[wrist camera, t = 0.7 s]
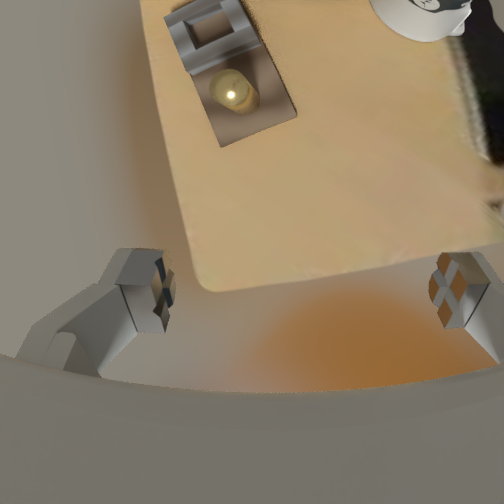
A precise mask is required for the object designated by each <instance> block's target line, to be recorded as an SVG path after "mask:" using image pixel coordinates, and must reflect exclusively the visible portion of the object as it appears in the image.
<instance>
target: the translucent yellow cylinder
mask: <svg viewBox="0 0 504 504" xmlns="http://www.w3.org/2000/svg"><path fill="white" fill-rule="evenodd" d="M209 91H210V94H211V96H212V97H213V99H214V100H216V101H217V102H219V103H221V104H222V105H224V106H226V107H227V108H229V109H231V110H232V111H234V112H236V113H237V114H240V115H249V114H252V113H253V112H255V111H256V110H257V109H258V107H259V105H260V96H259V94H258V93H257V91H256V90H255V89H254V88H253V86H252V85H251V84H250V83H249V82H248V80H247V79H246V78H245V77H244V76H243V75H242V74H241V73H240V72H239V71H237V70H234V69H224V70H221V71H219V72H218V73H216V74H215V75H214V76H213V78H212V79H211V81H210V85H209Z"/></svg>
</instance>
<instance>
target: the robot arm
mask: <svg viewBox="0 0 504 504" xmlns="http://www.w3.org/2000/svg"><path fill="white" fill-rule="evenodd" d="M471 1H472V0H370V2H371V5H372V7H373V9H374V11H375V12H376V14H377V15H378V16H379V18H380V19H381V20H382V21H383V22H384V23H385V24H386V25H387V26H389V27H390V28H391V29H393V30H394V31H396V32H397V33H399V34H401V35H403V36H405V37H407V38H410V39H413V40H417V41H422V42H432V41H437V40H439V39H442V38H443V37H445V36H448V35H452V36H459V35H462V34H463V32H464V20H465V19H466V18H467V17H468V15H469V14H470V13H471V9H470V2H471ZM170 264H171V257H170V252H169V251H168V250H167V249H148V248H135V249H134V248H119V249H117V250H116V252H115V253H114V255H113V257H112V259H111V261H110V262H109V264H108V266H107V267H106V269H105V271H104V273H103V275H102V276H101V278H100V280H99V282H98V284H92V285H90V286H89V287H87V288H86V289H84V290H83V291H81V292H80V293H78V294H77V295H75V296H74V297H72V298H71V299H69V300H68V301H66V302H65V303H64V304H62V305H61V306H59V307H58V308H56V309H55V310H53V311H52V312H51V313H49V314H48V315H46V316H45V317H43V318H42V319H41V320H39V321H38V322H36V323H35V324H34V325H33V326H32V327H31V329H30V331H29V333H28V334H27V337H26V338H25V340H24V342H23V344H22V346H21V348H20V349H19V352H18V353H17V355H16V357H15V358H13V357H9V356H6V355H3V354H0V504H504V283H503V282H502V281H501V279H500V278H499V277H498V275H497V274H496V272H495V271H494V269H493V268H492V267H491V265H490V264H489V263H488V261H487V260H486V259H485V257H484V256H483V255H482V254H481V253H479V252H442V253H441V255H440V256H439V258H438V260H437V267H438V269H437V270H436V271H435V272H434V273H433V274H432V275H431V278H430V281H429V290H428V291H429V296H430V299H431V301H432V303H433V304H434V305H436V306H437V307H438V308H439V309H438V312H437V314H438V316H439V318H440V320H441V322H442V324H443V327H444V329H448V328H460V327H465V329H466V330H467V331H468V332H469V333H470V334H471V335H472V336H473V337H474V338H475V339H476V341H477V342H478V343H479V344H480V345H481V346H482V347H483V348H484V349H485V350H486V351H487V352H488V353H489V354H490V355H491V356H492V357H493V358H494V360H495V361H496V362H497V363H498V364H499V365H498V366H494V367H490V368H486V369H482V370H477V371H473V372H469V373H464V374H459V375H454V376H450V377H444V378H439V379H433V380H427V381H421V382H414V383H408V384H401V385H393V386H385V387H375V388H365V389H354V390H341V391H324V392H301V393H300V392H298V393H249V392H246V393H244V392H222V391H204V390H191V389H179V388H169V387H160V386H151V385H143V384H136V383H129V382H123V381H116V380H110V379H104V378H102V377H101V376H100V374H99V372H100V371H101V370H102V369H103V368H104V367H105V366H106V365H107V364H108V363H109V362H110V361H111V360H112V359H113V358H114V357H115V356H116V355H117V354H118V353H119V352H120V351H121V350H122V349H123V348H124V347H125V346H126V345H127V344H128V343H129V342H130V341H131V340H132V339H133V338H134V337H135V336H136V335H137V332H144V333H163V334H165V332H166V329H167V325H168V321H169V318H170V314H169V310H168V308H170V307H171V306H172V305H173V304H174V300H175V293H176V281H175V276H174V273H173V272H172V271H171V270H170V269H169V267H170Z"/></svg>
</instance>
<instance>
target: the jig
mask: <svg viewBox="0 0 504 504" xmlns="http://www.w3.org/2000/svg"><path fill="white" fill-rule="evenodd" d="M163 18H164V20H165V22H166V25H167V27H168V29H169V32H170V34H171V36H172V39H173V41H174V44H175V46H176V48H177V51H178V53H179V55H180V58H181V60H182V62H183V65H184V67H185V70H186V71H187V72H188V73H190V76H191V78H192V80H193V83H194V85H195V87H196V90H197V92H198V95H199V97H200V99H201V102H202V104H203V107H204V109H205V111H206V114H207V116H208V118H209V121H210V123H211V126H212V128H213V130H214V133H215V135H216V138H217V140H218V143H219V145H220V147H225V146H227V145H229V144H231V143H234V142H236V141H238V140H241V139H243V138H245V137H248V136H250V135H253V134H255V133H257V132H260V131H262V130H265V129H267V128H270V127H272V126H275V125H277V124H280V123H283V122H285V121H288V120H290V119H293V118H296V117H297V115H296V112H295V110H294V108H293V105H292V103H291V101H290V99H289V96H288V94H287V92H286V90H285V88H284V85H283V83H282V81H281V79H280V77H279V75H278V73H277V71H276V68H275V66H274V64H273V62H272V60H271V58H270V56H269V54H268V52H267V50H266V48H265V46H264V44H263V42H262V40H261V38H260V36H259V34H258V32H257V30H256V28H255V27H254V25H253V23H252V21H251V19H250V17H249V15H248V13H247V12H246V10H245V8H244V6H243V4H242V2H241V1H240V0H196V1H194V2H192V3H190V4H188V5H186V6H184V7H182V8H180V9H178V10H176V11H174V12H173V13H171V14H169V15H167V16H165V17H163ZM224 69H234V70H237V71H239V72H240V73H241V74H242V75H243V76H244V77H245V78H246V79H247V80H248V82H249V83H250V84H251V85H252V86H253V88H254V89H255V90H256V91H257V93H258V94H259V96H260V105H259V107H258V109H257V110H256V111H255V112H253V113H252V114H249V115H240V114H237V113H236V112H234V111H232V110H231V109H229V108H227V107H226V106H224V105H222V104H221V103H219V102H217V101H216V100H214V99H213V97H212V96H211V94H210V91H209V85H210V81H211V79H212V78H213V76H214V75H215V74H216V73H218V72H219V71H221V70H224Z"/></svg>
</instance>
